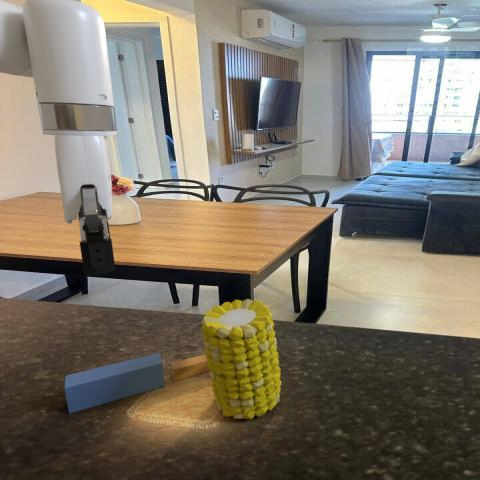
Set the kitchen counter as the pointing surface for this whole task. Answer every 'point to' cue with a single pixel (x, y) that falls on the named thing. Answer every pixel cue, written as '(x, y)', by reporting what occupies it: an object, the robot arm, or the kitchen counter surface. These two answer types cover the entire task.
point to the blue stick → (113, 382)
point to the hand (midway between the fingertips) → (99, 260)
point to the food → (242, 358)
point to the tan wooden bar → (189, 367)
